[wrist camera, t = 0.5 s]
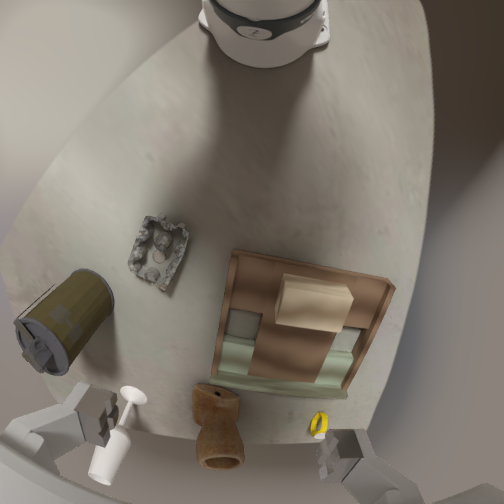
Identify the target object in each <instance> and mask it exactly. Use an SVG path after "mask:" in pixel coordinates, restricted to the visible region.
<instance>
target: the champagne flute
mask: <svg viewBox="0 0 504 504" xmlns="http://www.w3.org/2000/svg"><path fill="white" fill-rule="evenodd" d="M120 392H121V395H122V396H123V397H124V398H125V399H126V400H127V401H128V403H127V406H126V408H125V410H124V412H123V415H122V417H121V419H120V422H119V424H118V425H116V426H115V428H114V429H112V430H110V436H111V437H110V439H109V441H108V443H107V445H106V447H105V448H103V447H100V446H98V445H96V448H95V451H94V455H93V458H92V462H91V465H90V469H89V472H88V475H89V476H90V477H91V478H92V479H94V480H96V481H98V482H100V483H102V484H105V485H111V484H112V482H113V480H114V478H115V476H116V474H117V472H118V469H119V468H120V466H121V463H122V462H123V460H124V457H125V455H126V454H127V452H128V450H129V448H130V446H131V440H130V437H129V435H128V433H127V432H126V430H125V429H124V428H123V426H124V424H125V422H126V419H127V417H128V414H129V412H130V410H131V407H132V405H133V404H136V405H143V404H145V403H146V402H147V398H146V396H145V394H144V393H143V392H141V391H140V390H139V389H137V388H134V387H131V386H124V387H122V388H121V390H120Z"/></svg>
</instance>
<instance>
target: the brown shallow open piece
mask: <svg viewBox="0 0 504 504" xmlns="http://www.w3.org/2000/svg"><path fill="white" fill-rule="evenodd" d="M284 273H285V274H291V275H296V276H302V277H307V278H313V279H318V280H324V281H329V282H335V283H341V284H346V285H347V287H348V289H349V291H350V293H351V295H352V296H353V298H354V300H353V302H352V305H351V307H350V310H349V312H348V315H347V317H346V320H345V322H344V325H343V326H349V327H357V328H362V330H361V333H360V335H359V337H358V339H357V341H356V344H355V346H354V348H353V350H352V352H341V351H331V350H330V347H331V345H332V343H333V340H334V338H335V335H336V333H337V332H330V331H323V330H315V329H308V328H301V327H295V326H288V325H282V324H276V319H275V304H276V301H277V297H278V293H279V289H280V286H281V282H282V278H283V274H284ZM395 289H396V288H395V286H394V285H393V284H392V283H391V282H390V280H389V279H388V278H383V277H378V276H372V275H367V274H362V273H357V272H351V271H346V270H341V269H336V268H331V267H325V266H320V265H315V264H310V263H304V262H299V261H294V260H289V259H284V258H278V257H273V256H268V255H263V254H257V253H252V252H247V251H242V250H237V249H233V251H232V255H231V259H230V265H229V271H228V276H227V282H226V288H225V293H224V299H223V305H222V311H221V317H220V322H219V328H218V334H217V340H216V346H215V353H214V359H213V365H212V371H211V377H210V382H209V384H214V385H219V386H225V387H230V388H236V389H243V390H249V391H256V392H264V393H272V394H280V395H289V396H300V397H312V398H327V399H347V397H348V394H347V391H346V390H347V389H348V387H349V385H350V383H351V382H352V380H353V378H354V376H355V374H356V372H357V370H358V369H359V367H360V365H361V363H362V361H363V359H364V357H365V355H366V353H367V351H368V349H369V347H370V345H371V343H372V341H373V339H374V337H375V335H376V333H377V330H378V328H379V326H380V324H381V322H382V319H383V317H384V315H385V313H386V310H387V308H388V306H389V303H390V301H391V299H392V296H393V294H394V291H395ZM229 308H235V309H240V310H246V311H251V312H257V313H262V314H261V318H260V322H259V326H258V330H257V333H256V337H255V340H252V339H246V338H240V337H235V336H229V335H224V331H225V325H226V320H227V315H228V309H229Z"/></svg>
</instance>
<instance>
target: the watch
mask: <svg viewBox="0 0 504 504" xmlns="http://www.w3.org/2000/svg"><path fill="white" fill-rule="evenodd" d="M320 417H322V425H321V429H320V431H316V427H317V422H318V420H319V418H320ZM327 426H328V417H327V415H326V413H321V412H318V413H317V414H316V416H315V417H314V418H313V419H312V422H311V429H310V430H311V435H312V436H313V437H314V438H316V439H322V438H325V434H326V429H327Z"/></svg>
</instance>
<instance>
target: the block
mask: <svg viewBox="0 0 504 504" xmlns="http://www.w3.org/2000/svg"><path fill="white" fill-rule="evenodd" d="M353 300H354V298H353V296H352V295H351V293H350V291H349V289H348V287H347V285H346V284H341V283H335V282H329V281H324V280H318V279H313V278H307V277H302V276H296V275H291V274H285V273H284V274H283V278H282V282H281V286H280V289H279V293H278V297H277V301H276V304H275V319H276V324H282V325H288V326H295V327H301V328H308V329H315V330H323V331H330V332H338V333H340V332H341V330H342V327H343V325H344V322H345V320H346V317H347V315H348V312H349V310H350V307H351V305H352V302H353Z"/></svg>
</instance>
